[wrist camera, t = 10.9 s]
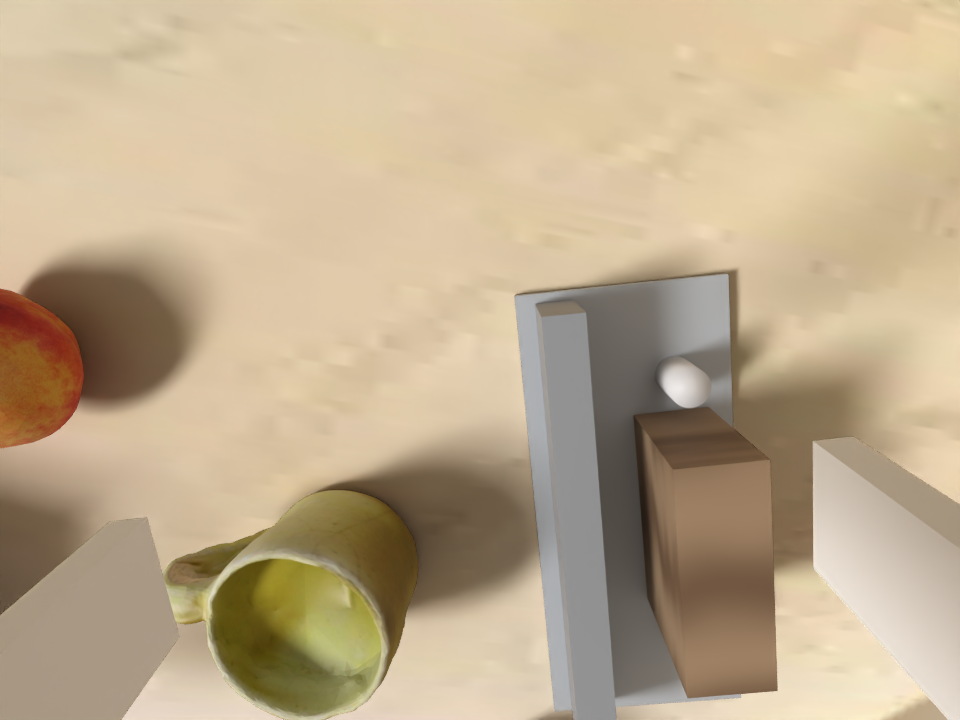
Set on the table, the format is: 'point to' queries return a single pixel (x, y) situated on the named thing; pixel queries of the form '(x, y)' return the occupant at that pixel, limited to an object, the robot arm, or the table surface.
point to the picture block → (708, 550)
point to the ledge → (610, 468)
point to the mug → (304, 604)
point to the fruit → (35, 371)
